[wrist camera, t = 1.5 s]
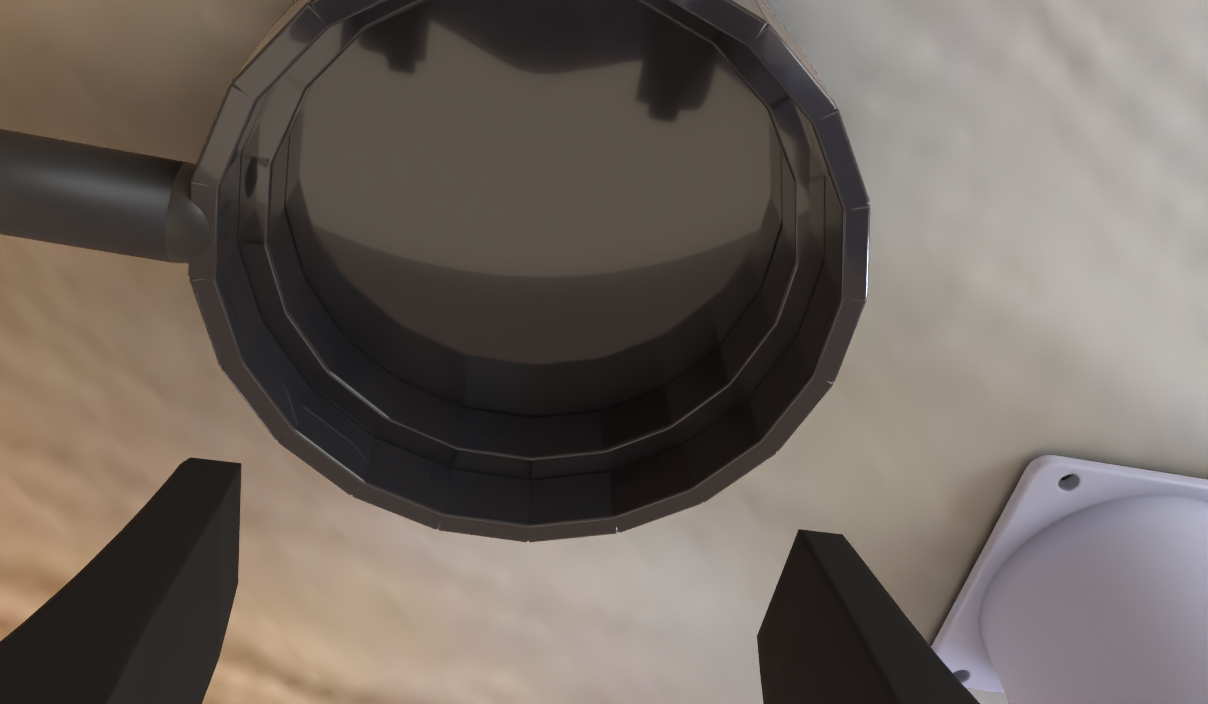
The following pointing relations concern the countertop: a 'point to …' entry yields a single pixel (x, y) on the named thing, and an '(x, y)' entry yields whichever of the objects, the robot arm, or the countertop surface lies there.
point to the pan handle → (101, 199)
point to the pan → (531, 253)
